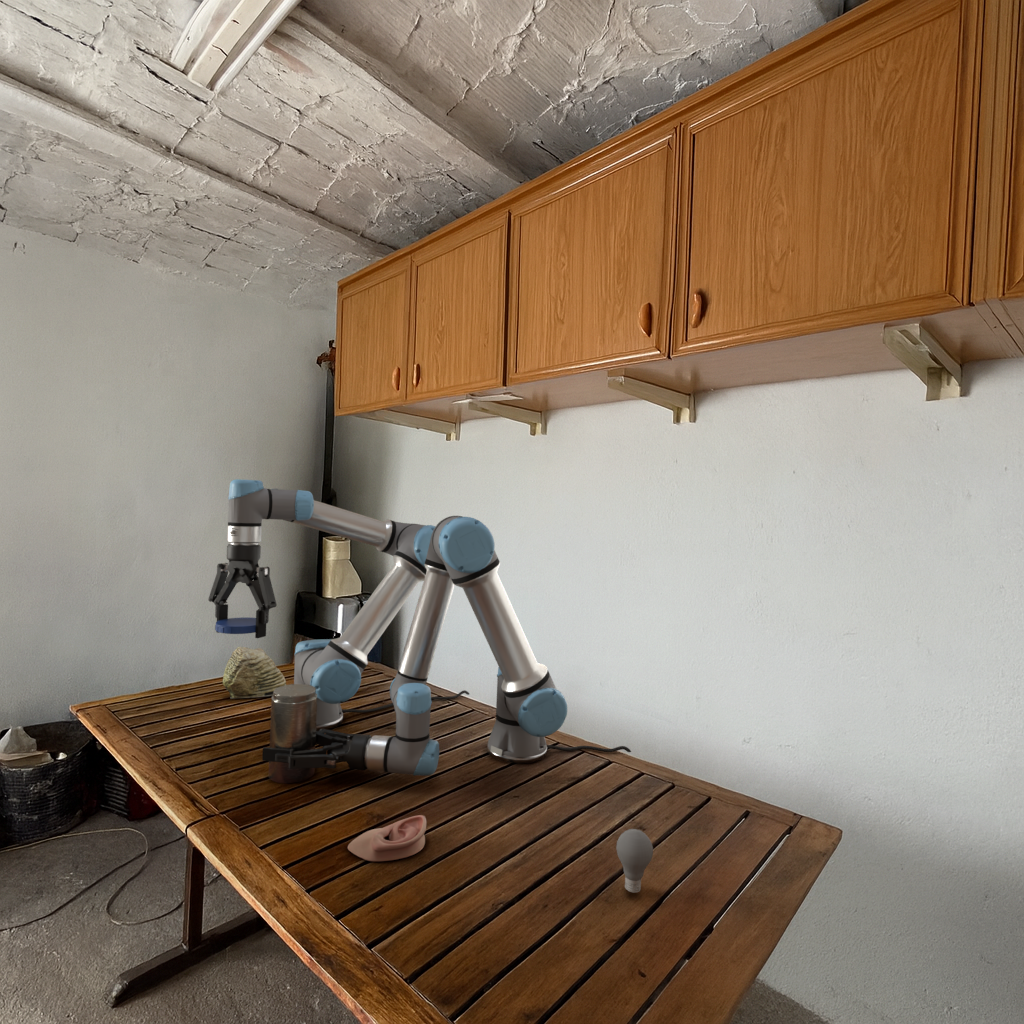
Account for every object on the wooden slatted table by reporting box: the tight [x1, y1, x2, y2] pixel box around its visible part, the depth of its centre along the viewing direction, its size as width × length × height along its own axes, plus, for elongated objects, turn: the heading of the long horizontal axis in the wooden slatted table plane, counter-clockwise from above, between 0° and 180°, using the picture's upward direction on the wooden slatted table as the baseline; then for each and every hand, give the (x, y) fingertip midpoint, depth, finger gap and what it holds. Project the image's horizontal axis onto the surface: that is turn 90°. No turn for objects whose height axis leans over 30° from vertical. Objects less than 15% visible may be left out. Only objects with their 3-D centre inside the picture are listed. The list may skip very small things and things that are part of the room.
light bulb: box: [615, 828, 654, 894], centre depth 106 cm, size 6×6×10 cm
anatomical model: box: [347, 814, 427, 862], centre depth 116 cm, size 13×4×12 cm
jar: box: [268, 683, 317, 784], centre depth 144 cm, size 10×10×19 cm
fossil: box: [222, 646, 287, 699], centre depth 198 cm, size 9×18×15 cm, turn 132°
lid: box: [214, 617, 256, 635], centre depth 153 cm, size 11×11×2 cm
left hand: (240, 634), depth 153 cm, fingers closed on lid, 11 cm apart
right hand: (274, 744), depth 144 cm, fingers closed on jar, 10 cm apart
